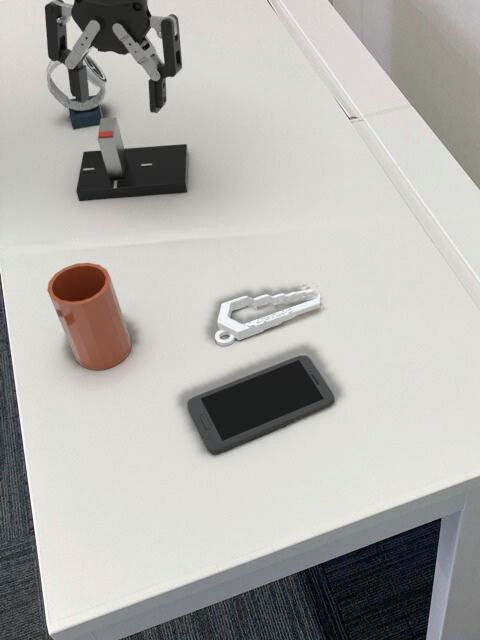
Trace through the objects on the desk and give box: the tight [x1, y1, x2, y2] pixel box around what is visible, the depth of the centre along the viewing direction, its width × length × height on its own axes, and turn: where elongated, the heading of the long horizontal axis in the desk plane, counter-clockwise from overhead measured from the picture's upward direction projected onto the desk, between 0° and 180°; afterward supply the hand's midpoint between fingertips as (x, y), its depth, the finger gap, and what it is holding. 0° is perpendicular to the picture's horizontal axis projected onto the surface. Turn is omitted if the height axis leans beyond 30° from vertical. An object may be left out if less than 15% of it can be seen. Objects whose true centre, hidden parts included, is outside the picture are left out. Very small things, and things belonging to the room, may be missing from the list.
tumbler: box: [46, 262, 132, 371], centre depth 81 cm, size 6×6×10 cm
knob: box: [97, 117, 126, 178], centre depth 100 cm, size 5×2×6 cm, turn 8°
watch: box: [46, 54, 108, 131], centre depth 111 cm, size 6×8×11 cm
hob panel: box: [75, 143, 190, 202], centre depth 104 cm, size 14×9×3 cm, turn 97°
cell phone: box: [187, 354, 336, 455], centre depth 79 cm, size 7×14×1 cm, turn 118°
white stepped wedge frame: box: [214, 288, 322, 347], centre depth 88 cm, size 13×5×2 cm, turn 117°
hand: (119, 105), depth 88 cm, fingers open, 8 cm apart
